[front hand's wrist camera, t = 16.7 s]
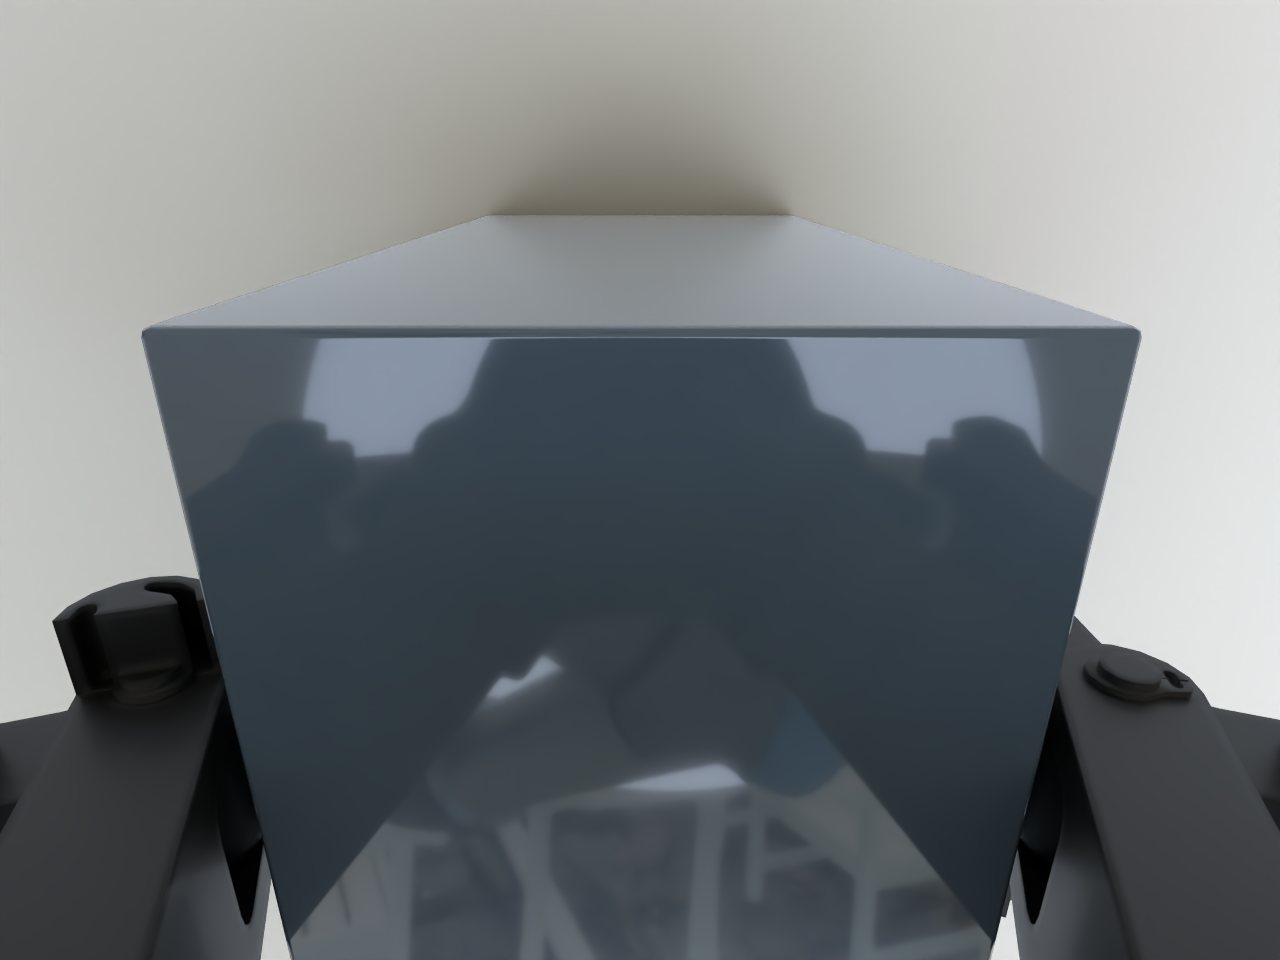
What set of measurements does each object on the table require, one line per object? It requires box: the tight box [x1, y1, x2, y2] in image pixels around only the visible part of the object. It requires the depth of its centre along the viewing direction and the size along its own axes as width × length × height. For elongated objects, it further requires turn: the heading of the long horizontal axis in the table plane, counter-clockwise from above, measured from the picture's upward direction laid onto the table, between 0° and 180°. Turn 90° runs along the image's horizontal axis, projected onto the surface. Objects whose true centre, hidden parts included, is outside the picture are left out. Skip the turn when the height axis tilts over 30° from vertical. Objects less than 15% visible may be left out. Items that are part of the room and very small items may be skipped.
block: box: [142, 215, 1141, 960], centre depth 12 cm, size 9×6×12 cm
